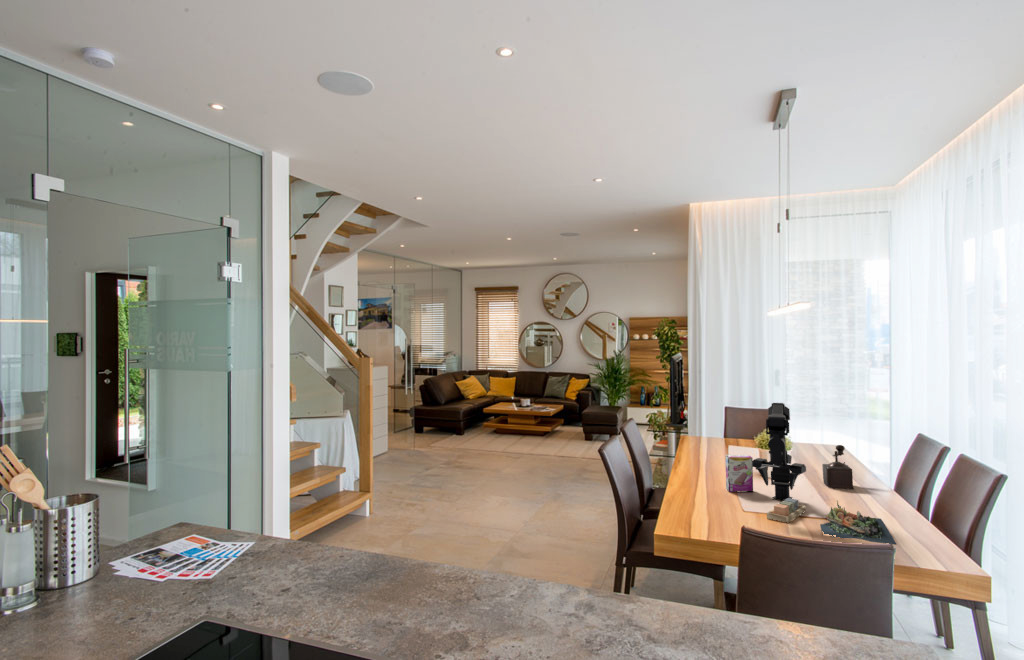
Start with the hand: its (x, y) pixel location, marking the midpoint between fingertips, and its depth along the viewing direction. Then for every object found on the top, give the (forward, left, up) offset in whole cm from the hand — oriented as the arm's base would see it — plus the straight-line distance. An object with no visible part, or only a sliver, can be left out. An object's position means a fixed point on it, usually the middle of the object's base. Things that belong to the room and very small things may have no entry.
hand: (779, 487), depth 214 cm
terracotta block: (+1, +1, -11) cm, 11 cm away
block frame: (-5, +1, -12) cm, 13 cm away
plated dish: (-6, +23, -13) cm, 27 cm away
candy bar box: (-26, -28, -12) cm, 40 cm away
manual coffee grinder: (-67, +1, -12) cm, 68 cm away
